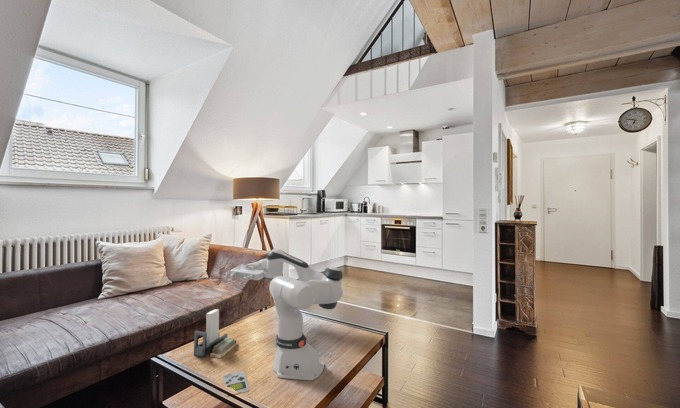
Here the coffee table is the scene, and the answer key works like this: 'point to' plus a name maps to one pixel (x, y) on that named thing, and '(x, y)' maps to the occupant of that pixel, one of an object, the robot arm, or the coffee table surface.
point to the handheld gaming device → (236, 381)
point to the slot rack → (205, 344)
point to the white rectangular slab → (212, 326)
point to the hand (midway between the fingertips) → (237, 278)
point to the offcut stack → (223, 347)
